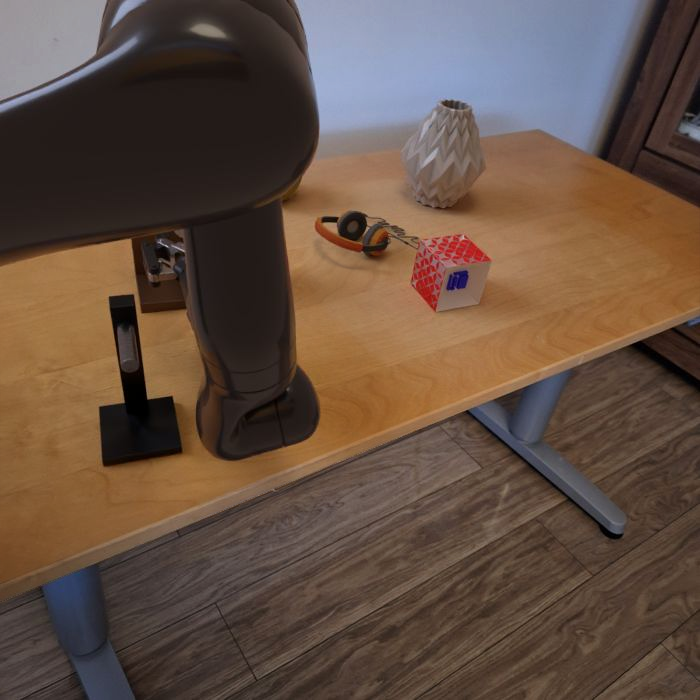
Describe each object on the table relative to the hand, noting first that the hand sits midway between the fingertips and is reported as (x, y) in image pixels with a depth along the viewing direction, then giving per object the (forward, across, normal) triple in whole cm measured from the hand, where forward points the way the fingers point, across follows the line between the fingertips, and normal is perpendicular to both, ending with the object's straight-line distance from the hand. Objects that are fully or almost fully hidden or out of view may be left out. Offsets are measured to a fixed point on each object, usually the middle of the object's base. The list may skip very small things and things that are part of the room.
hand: (198, 228), depth 77 cm
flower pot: (+34, -18, +14) cm, 41 cm away
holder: (-20, +10, +14) cm, 26 cm away
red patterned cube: (-1, -37, +14) cm, 40 cm away
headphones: (+15, -30, +14) cm, 37 cm away
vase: (+30, -50, +14) cm, 60 cm away
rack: (+7, 0, +14) cm, 16 cm away
